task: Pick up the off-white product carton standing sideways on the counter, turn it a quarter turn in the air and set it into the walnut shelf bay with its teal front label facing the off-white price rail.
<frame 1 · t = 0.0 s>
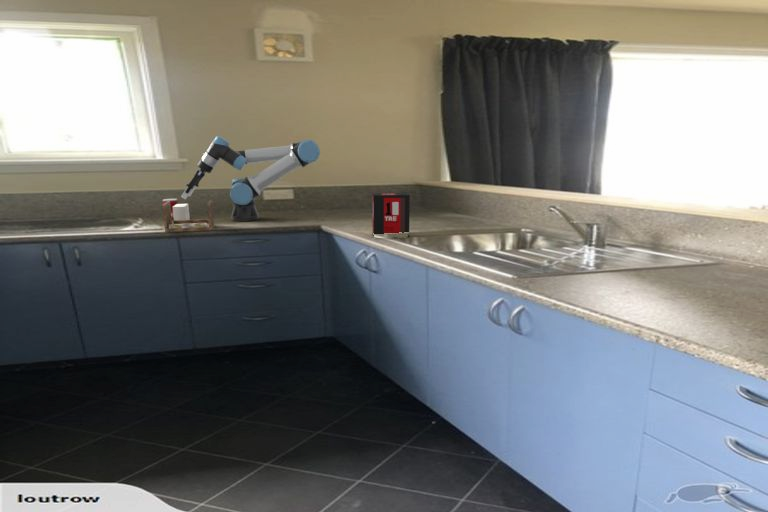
hand: (185, 196, 263), 15 cm above the worktop, tool tilted 35°, fingers open, 13 cm apart
product carton: (182, 223, 272), on the worktop
cleaning product box: (390, 237, 235), on the worktop
facing shelf: (190, 228, 257), on the worktop
canned food: (171, 218, 289), on the worktop
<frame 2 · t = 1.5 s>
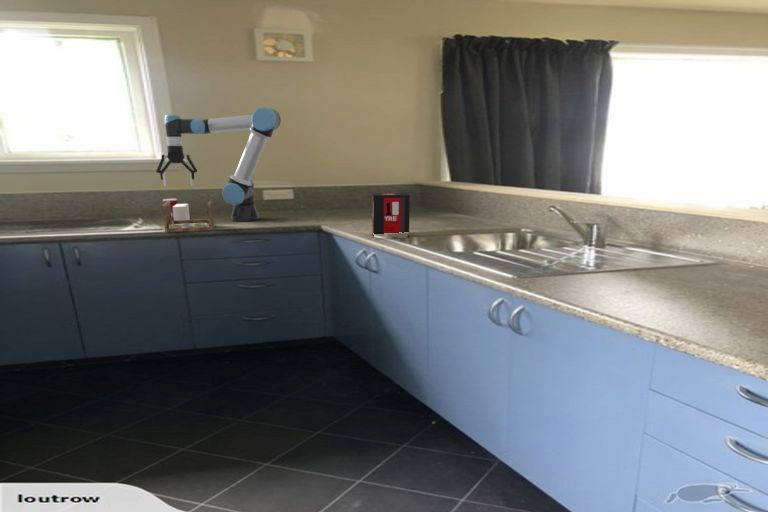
hand: (178, 185, 267), 20 cm above the worktop, tool pointing down, fingers open, 13 cm apart
nothing on the worktop moved.
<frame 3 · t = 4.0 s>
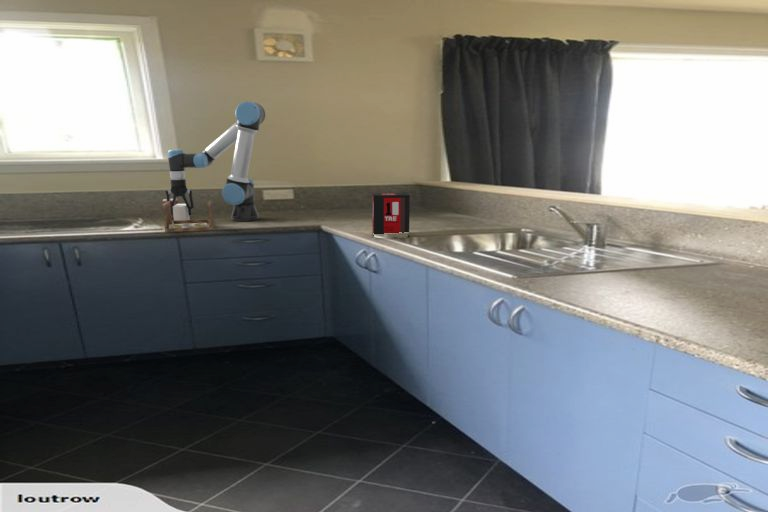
hand: (182, 221, 272), 1 cm above the worktop, tool pointing down, fingers closed on product carton, 6 cm apart
product carton: (182, 223, 272), on the worktop, touching gripper
everything else where it was.
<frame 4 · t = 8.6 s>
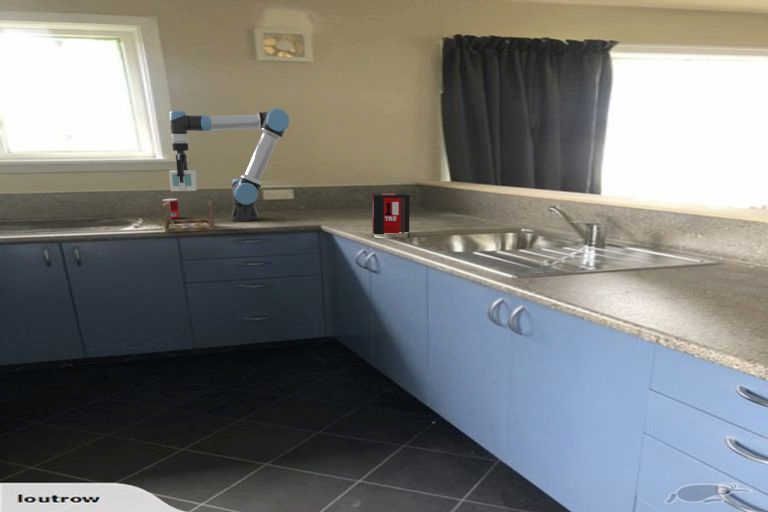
hand: (184, 188, 258), 20 cm above the worktop, tool pointing down, fingers closed on product carton, 6 cm apart
product carton: (184, 190, 258), point 19 cm above the worktop, touching gripper
everything else where it was.
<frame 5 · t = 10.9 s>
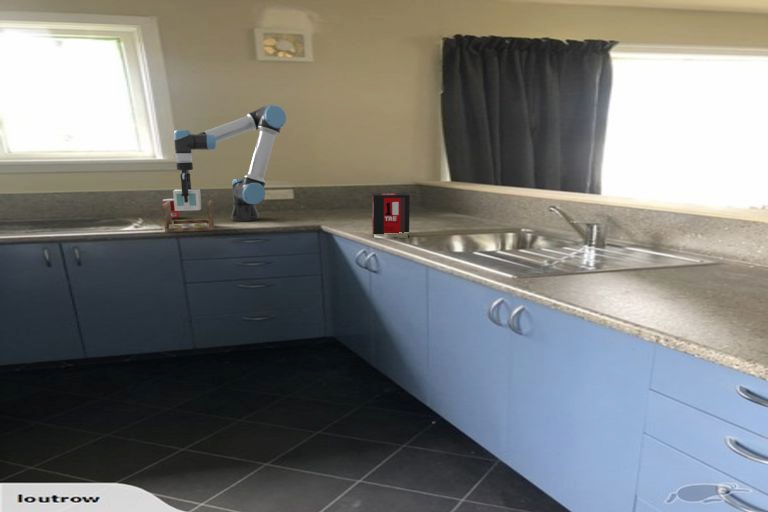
hand: (188, 207, 254), 11 cm above the worktop, tool pointing down, fingers closed on product carton, 6 cm apart
product carton: (188, 209, 254), point 10 cm above the worktop, touching gripper
everything else where it was.
when the fingers open (4 cm above the worktop, at t = 12.9 s): product carton drops 1 cm, resting on facing shelf.
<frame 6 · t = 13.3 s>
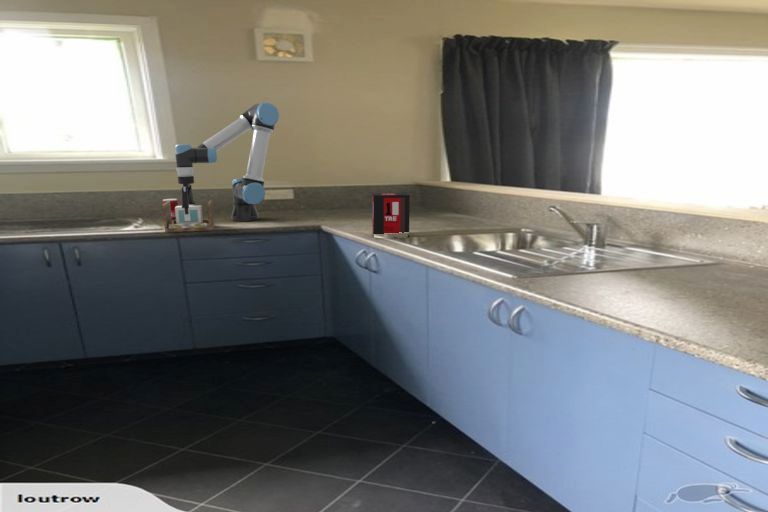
hand: (189, 218, 255), 5 cm above the worktop, tool pointing down, fingers open, 11 cm apart
product carton: (190, 225, 256), point 1 cm above the worktop, touching facing shelf
everything else where it was.
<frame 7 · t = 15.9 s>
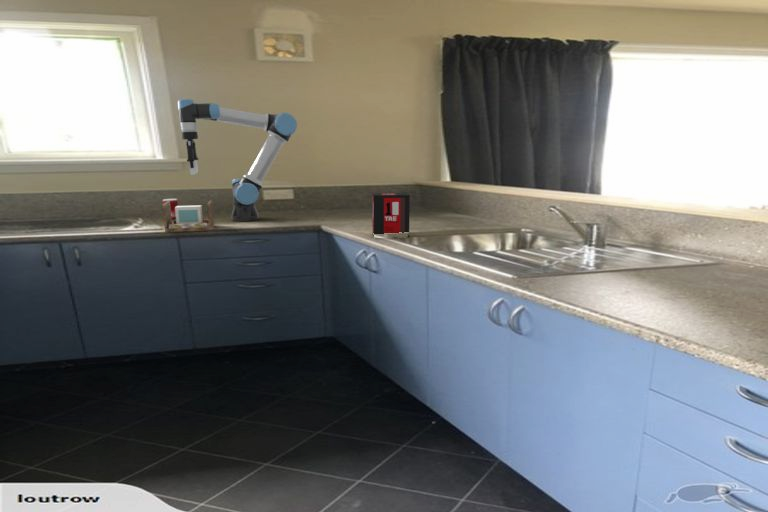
hand: (194, 173, 257), 27 cm above the worktop, tool pointing down, fingers open, 13 cm apart
nothing on the worktop moved.
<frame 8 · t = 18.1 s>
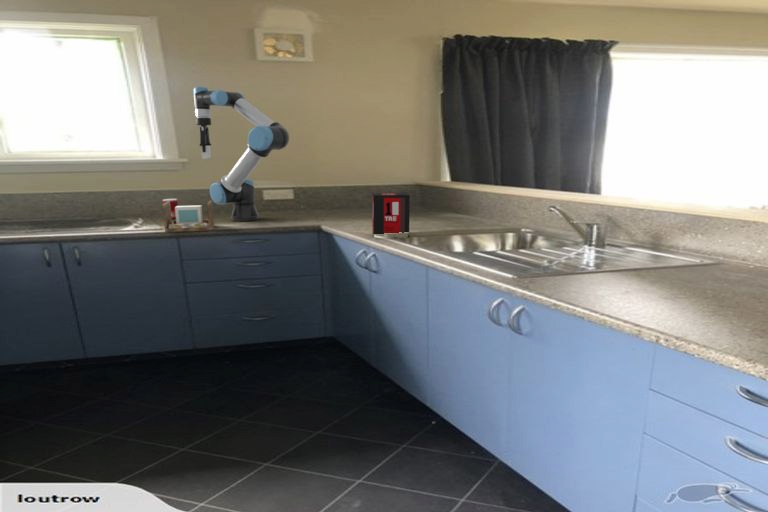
hand: (206, 158, 271), 35 cm above the worktop, tool pointing down, fingers open, 13 cm apart
nothing on the worktop moved.
at the end: product carton 0.1 cm off-centre on the facing shelf, point 1.5 cm above the facing shelf's base; product carton tilted 0°; the gripper is holding nothing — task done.
